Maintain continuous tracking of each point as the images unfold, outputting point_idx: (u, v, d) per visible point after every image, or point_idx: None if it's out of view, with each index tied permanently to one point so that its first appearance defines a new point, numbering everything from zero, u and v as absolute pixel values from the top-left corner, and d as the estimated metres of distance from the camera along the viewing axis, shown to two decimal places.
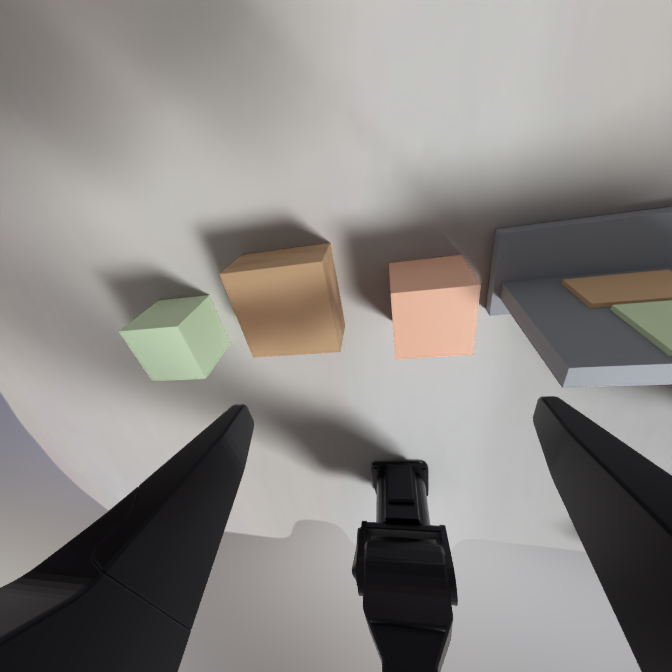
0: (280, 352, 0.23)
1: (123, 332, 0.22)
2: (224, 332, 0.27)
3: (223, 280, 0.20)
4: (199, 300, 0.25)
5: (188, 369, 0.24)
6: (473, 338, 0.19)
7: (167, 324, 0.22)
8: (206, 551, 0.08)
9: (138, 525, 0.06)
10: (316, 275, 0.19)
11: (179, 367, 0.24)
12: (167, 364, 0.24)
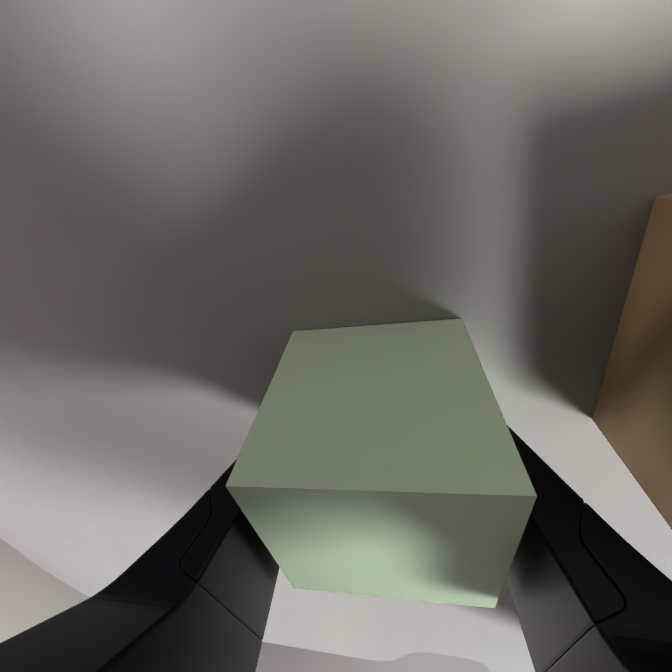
0: None
1: (246, 490, 0.05)
2: None
3: None
4: (448, 337, 0.08)
5: (449, 588, 0.07)
6: None
7: (450, 465, 0.05)
8: None
9: (221, 530, 0.06)
10: None
11: (418, 580, 0.07)
12: (377, 571, 0.07)
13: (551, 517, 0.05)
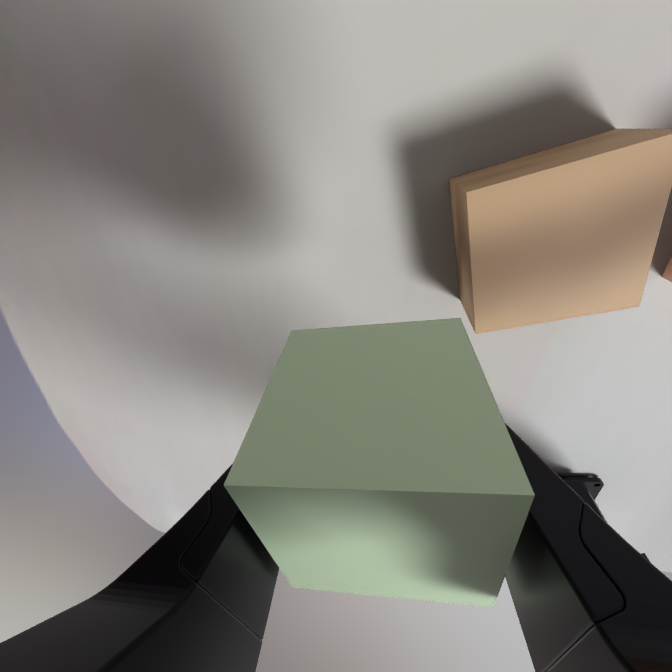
0: (526, 320, 0.15)
1: (244, 489, 0.05)
2: None
3: (470, 203, 0.12)
4: (447, 337, 0.08)
5: (448, 587, 0.07)
6: None
7: (447, 463, 0.05)
8: None
9: (221, 530, 0.06)
10: (661, 162, 0.11)
11: (416, 580, 0.07)
12: (375, 571, 0.07)
13: (551, 517, 0.05)
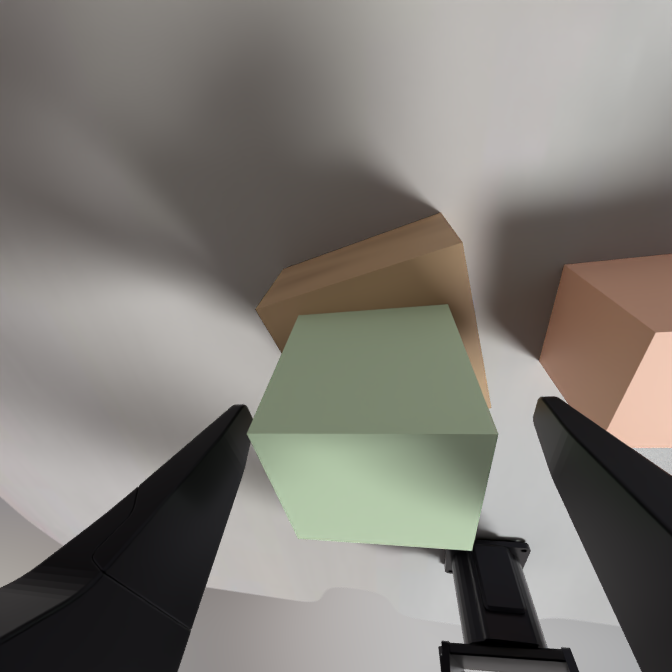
0: None
1: (263, 437, 0.06)
2: None
3: (264, 319, 0.11)
4: (435, 319, 0.09)
5: (433, 530, 0.08)
6: None
7: (431, 414, 0.06)
8: (206, 551, 0.08)
9: (138, 525, 0.06)
10: (448, 275, 0.09)
11: (406, 525, 0.08)
12: (371, 516, 0.08)
13: None
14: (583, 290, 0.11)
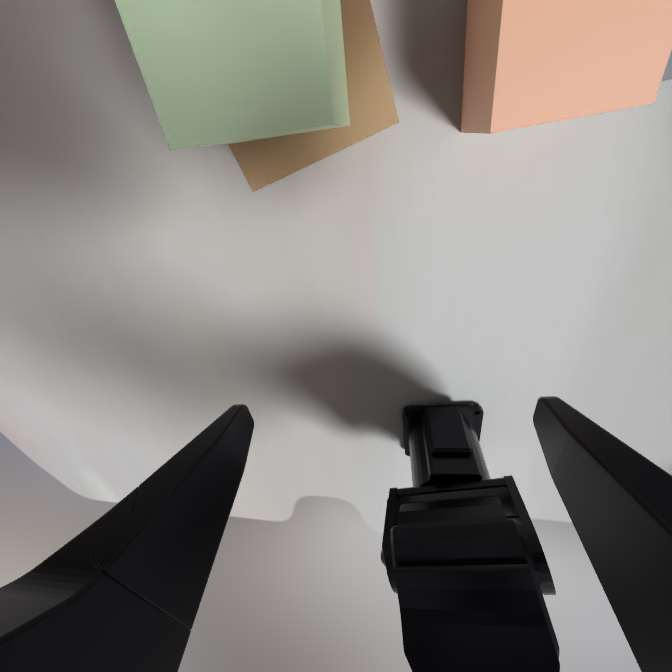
0: (294, 164, 0.13)
1: None
2: (346, 81, 0.11)
3: None
4: None
5: (288, 81, 0.08)
6: (667, 50, 0.09)
7: None
8: (206, 551, 0.08)
9: (138, 525, 0.06)
10: None
11: (261, 73, 0.08)
12: (225, 63, 0.08)
13: None
14: None
